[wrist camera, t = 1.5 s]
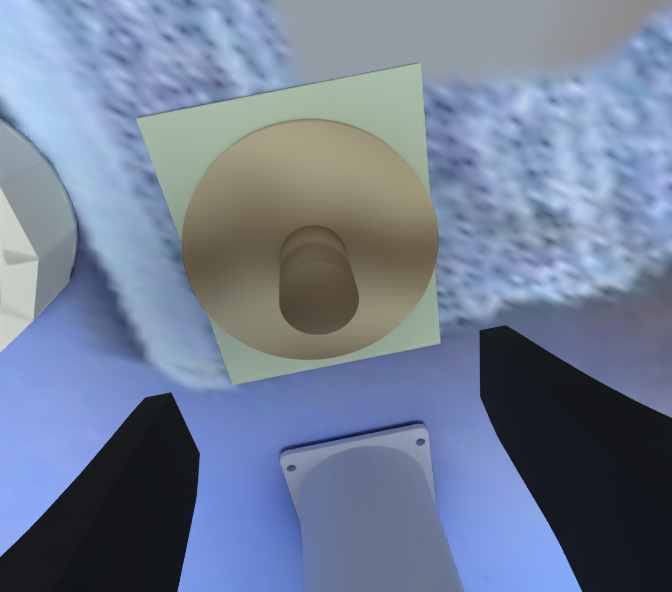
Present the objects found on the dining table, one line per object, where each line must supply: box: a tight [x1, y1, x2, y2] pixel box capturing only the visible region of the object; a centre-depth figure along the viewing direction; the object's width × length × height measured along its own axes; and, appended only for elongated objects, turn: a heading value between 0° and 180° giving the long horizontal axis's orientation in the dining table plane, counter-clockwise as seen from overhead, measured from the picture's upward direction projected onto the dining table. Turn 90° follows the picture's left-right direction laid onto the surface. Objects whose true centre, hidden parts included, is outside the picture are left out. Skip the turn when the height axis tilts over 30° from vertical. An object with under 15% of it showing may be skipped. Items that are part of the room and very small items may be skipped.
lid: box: [182, 119, 438, 360], centre depth 17 cm, size 10×10×4 cm
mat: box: [136, 63, 441, 385], centre depth 19 cm, size 12×10×1 cm
